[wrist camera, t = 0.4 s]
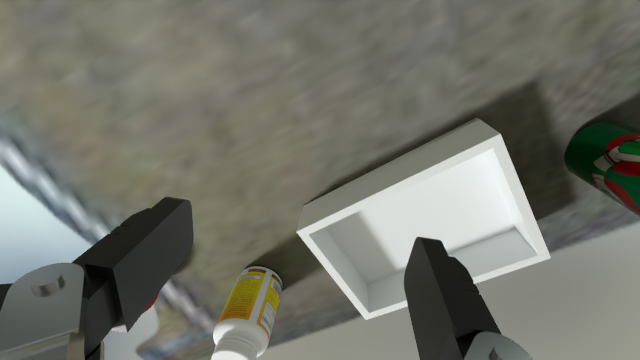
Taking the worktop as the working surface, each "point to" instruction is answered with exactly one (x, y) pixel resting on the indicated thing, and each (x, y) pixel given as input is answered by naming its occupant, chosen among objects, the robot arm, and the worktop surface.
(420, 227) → the tote
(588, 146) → the soda can
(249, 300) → the supplement bottle
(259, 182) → the worktop surface
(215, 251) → the worktop surface
